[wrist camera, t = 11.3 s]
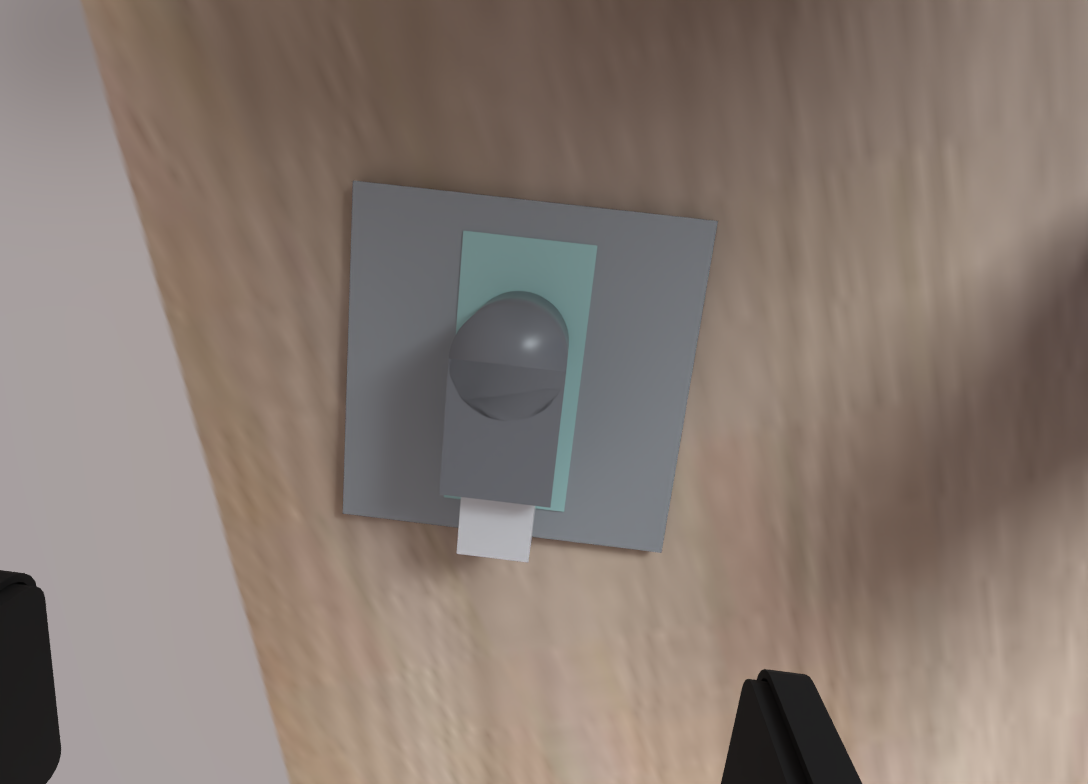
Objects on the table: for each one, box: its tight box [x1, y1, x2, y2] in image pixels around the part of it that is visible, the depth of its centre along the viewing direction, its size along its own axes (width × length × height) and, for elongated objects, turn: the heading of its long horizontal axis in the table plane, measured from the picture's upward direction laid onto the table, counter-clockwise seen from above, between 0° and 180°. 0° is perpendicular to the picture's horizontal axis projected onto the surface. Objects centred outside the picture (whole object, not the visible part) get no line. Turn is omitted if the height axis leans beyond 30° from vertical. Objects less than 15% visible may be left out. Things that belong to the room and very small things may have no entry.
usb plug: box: [439, 291, 569, 562], centre depth 25 cm, size 10×4×4 cm, turn 174°
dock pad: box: [343, 181, 718, 553], centre depth 28 cm, size 14×14×1 cm
